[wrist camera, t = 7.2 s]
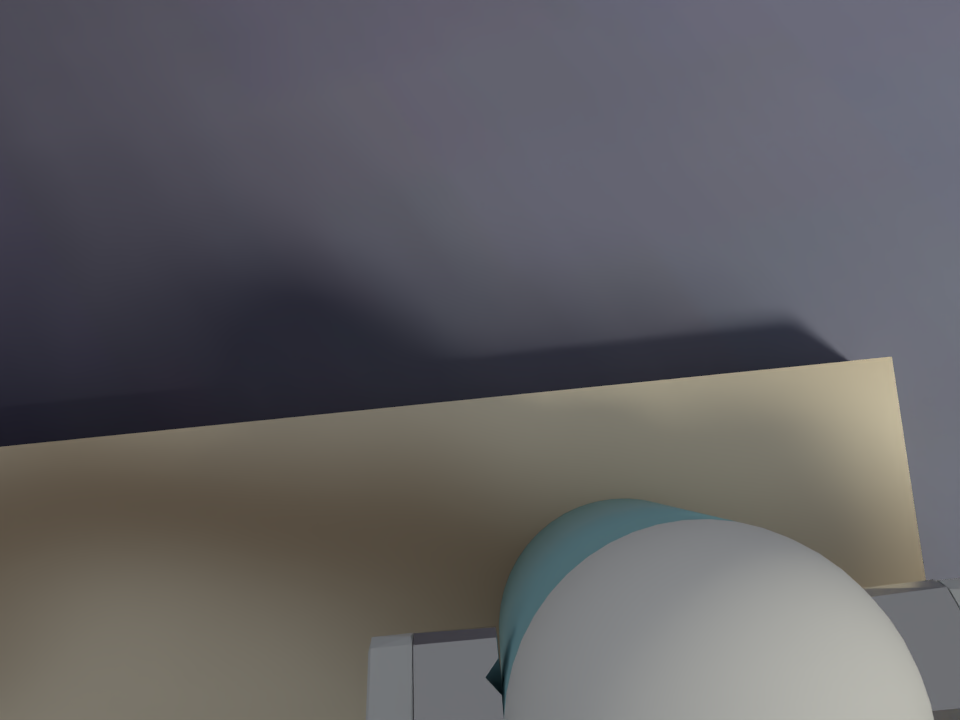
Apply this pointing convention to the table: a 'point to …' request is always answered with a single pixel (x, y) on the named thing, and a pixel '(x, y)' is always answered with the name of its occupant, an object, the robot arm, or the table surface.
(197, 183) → the table surface
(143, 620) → the board
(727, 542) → the capsule
